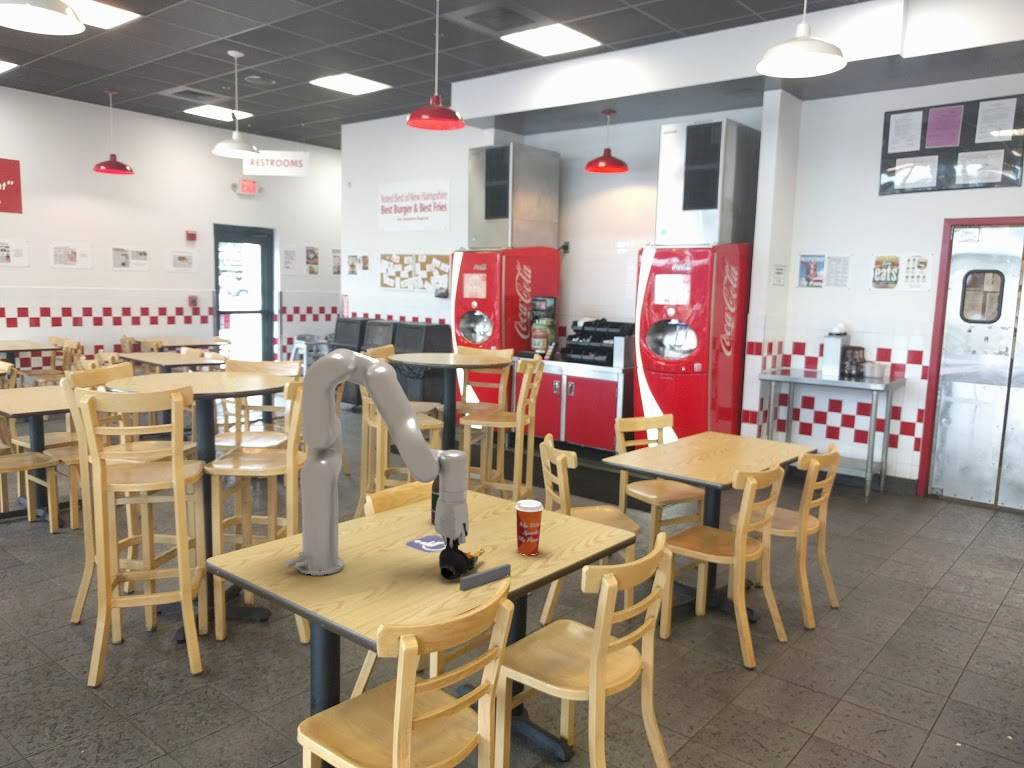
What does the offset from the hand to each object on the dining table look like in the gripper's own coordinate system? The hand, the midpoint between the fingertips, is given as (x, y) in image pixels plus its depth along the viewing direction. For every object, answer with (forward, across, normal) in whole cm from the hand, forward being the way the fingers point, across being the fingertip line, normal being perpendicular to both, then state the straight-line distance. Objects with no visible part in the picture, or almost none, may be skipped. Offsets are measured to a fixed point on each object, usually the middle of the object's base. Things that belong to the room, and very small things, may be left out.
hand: (451, 559), depth 212 cm
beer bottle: (+2, -32, +21) cm, 38 cm away
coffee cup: (+2, +5, +24) cm, 25 cm away
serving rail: (+2, +15, 0) cm, 15 cm away
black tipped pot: (+2, +6, 0) cm, 6 cm away
